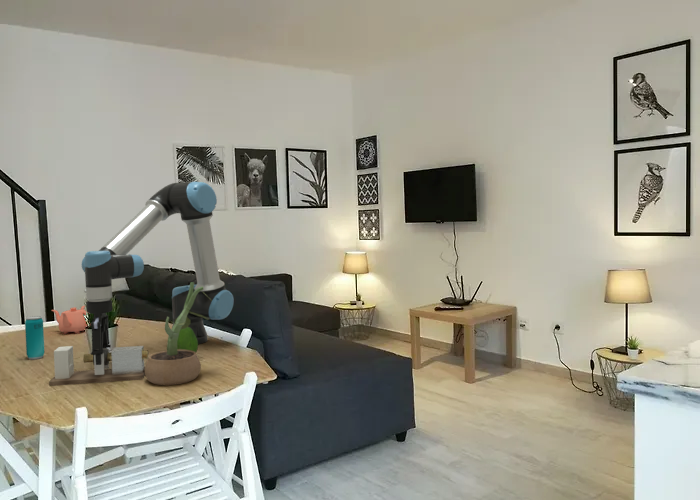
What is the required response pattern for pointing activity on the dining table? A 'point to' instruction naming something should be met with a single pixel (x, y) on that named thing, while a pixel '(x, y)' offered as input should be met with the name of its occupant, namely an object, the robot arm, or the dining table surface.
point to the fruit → (187, 340)
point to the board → (95, 377)
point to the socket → (63, 362)
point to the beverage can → (34, 337)
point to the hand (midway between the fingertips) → (101, 371)
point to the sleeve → (127, 360)
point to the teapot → (71, 320)
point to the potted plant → (175, 352)
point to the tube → (108, 356)
